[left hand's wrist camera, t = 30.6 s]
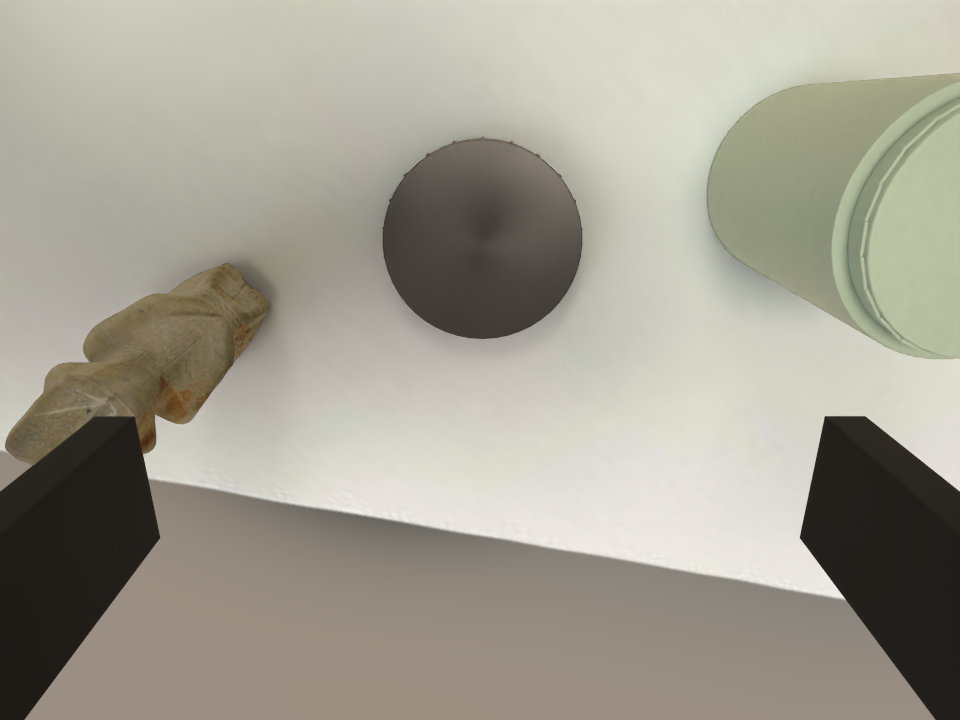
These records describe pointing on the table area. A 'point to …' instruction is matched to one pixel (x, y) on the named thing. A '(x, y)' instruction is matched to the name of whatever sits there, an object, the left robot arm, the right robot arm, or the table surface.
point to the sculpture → (147, 362)
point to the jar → (852, 204)
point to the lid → (482, 238)
